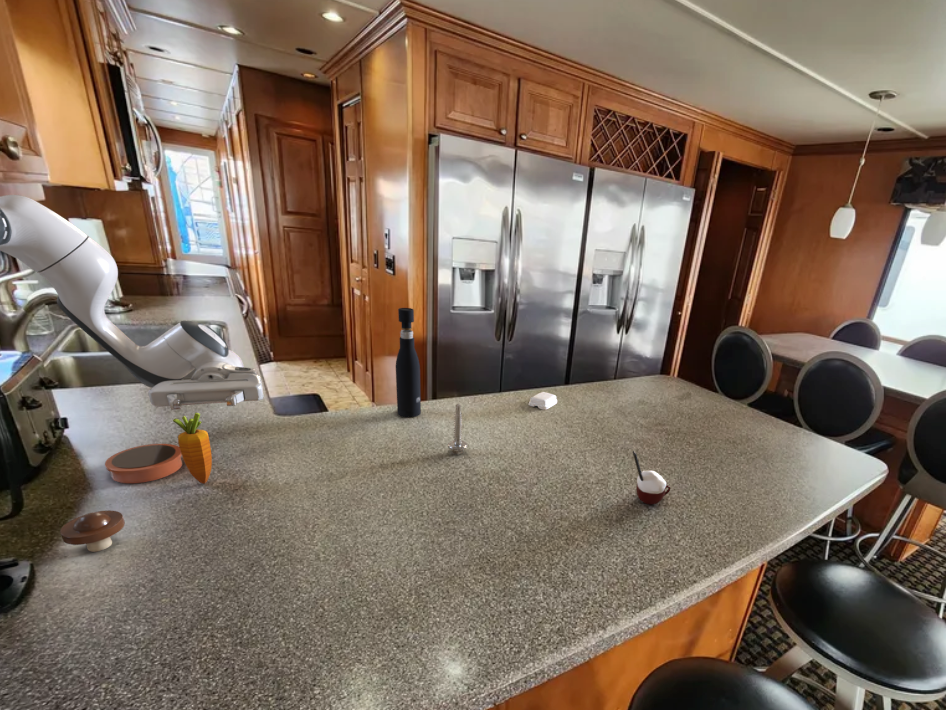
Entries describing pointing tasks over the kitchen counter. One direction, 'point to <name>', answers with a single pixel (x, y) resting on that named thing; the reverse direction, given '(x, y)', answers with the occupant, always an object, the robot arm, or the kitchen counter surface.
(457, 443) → the screw
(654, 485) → the cocoa
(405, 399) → the black water bottle
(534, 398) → the soap
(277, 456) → the kitchen counter surface
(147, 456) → the pot
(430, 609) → the kitchen counter surface
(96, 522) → the mushroom
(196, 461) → the carrot
